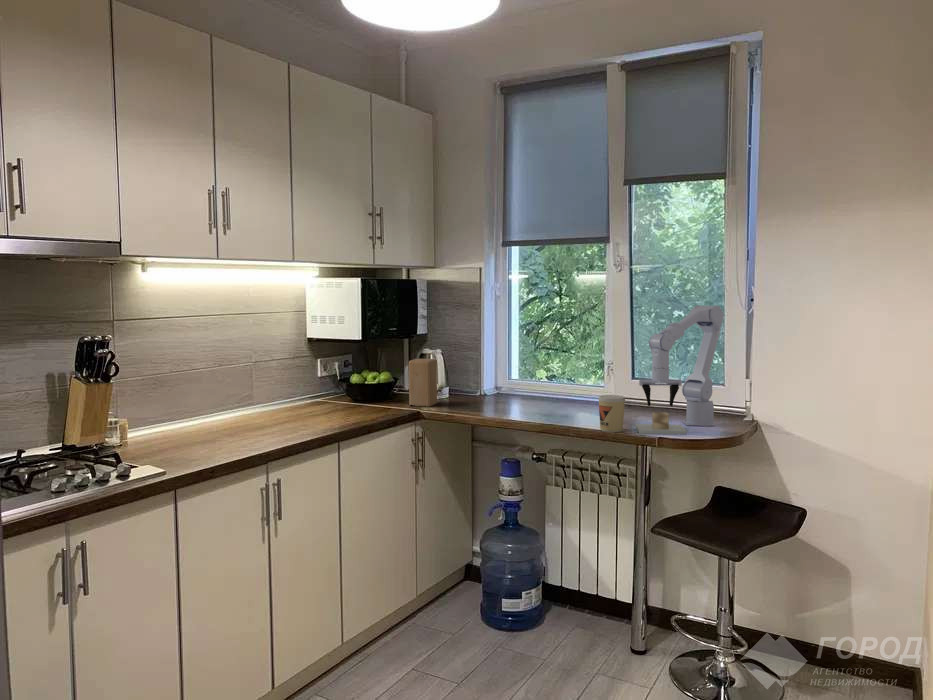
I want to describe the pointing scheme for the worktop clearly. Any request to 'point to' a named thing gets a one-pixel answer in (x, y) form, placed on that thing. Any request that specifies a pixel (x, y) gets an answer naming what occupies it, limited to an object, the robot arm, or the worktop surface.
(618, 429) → the coffee cup
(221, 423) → the worktop surface
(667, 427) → the maple cube
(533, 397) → the worktop surface
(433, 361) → the wooden block
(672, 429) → the gray board
